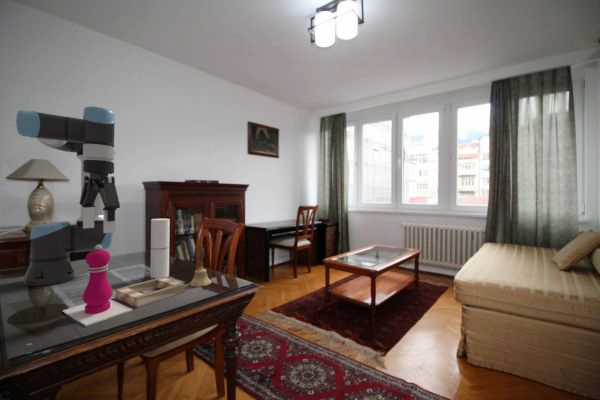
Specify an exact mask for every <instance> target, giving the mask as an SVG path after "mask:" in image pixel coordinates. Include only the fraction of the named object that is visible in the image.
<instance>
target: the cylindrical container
mask: <svg viewBox="0 0 600 400" xmlns="http://www.w3.org/2000/svg"><path fill="white" fill-rule="evenodd" d="M150 221H151V222H150V223H151V224H150V278H151V279H153V278H155V279H157V278H161V277H164V278H167V277H169V276H170V231H171V230H170V227H171V226H170V225H171V223H170V221H171V220H170V218H152V219H151V220H150Z"/></svg>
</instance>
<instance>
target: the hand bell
mask: <svg viewBox="0 0 600 400" xmlns="http://www.w3.org/2000/svg"><path fill="white" fill-rule="evenodd" d="M204 256H205V250H204V245H203V243H201V244H198V247H197V259H198V266H197V267H198V268H197V269H195V271H194V275H193V278H192V280H191V281H190V282H189V286H191V287H195V288H196V287H197V288H199V287H207V286H209V285H211V284H212V280H211V279H209V277H208V276H209V275H208V272H207V269H206V268H204V261H203V259H204Z"/></svg>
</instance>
